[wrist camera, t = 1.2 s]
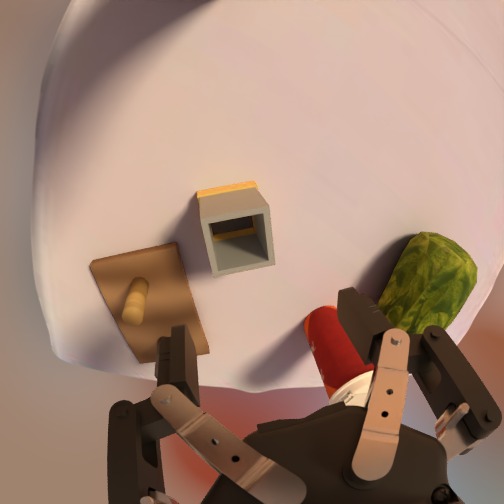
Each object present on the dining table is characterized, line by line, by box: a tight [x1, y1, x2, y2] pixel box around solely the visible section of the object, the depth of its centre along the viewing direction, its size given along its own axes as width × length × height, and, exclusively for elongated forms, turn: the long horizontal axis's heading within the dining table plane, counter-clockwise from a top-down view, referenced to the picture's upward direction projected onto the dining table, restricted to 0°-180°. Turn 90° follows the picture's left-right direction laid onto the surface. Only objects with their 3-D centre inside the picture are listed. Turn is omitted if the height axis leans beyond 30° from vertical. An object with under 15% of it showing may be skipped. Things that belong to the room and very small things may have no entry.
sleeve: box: [197, 181, 275, 277], centre depth 25 cm, size 6×6×7 cm
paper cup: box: [304, 306, 374, 407], centre depth 32 cm, size 8×8×14 cm
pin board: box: [90, 242, 210, 378], centre depth 29 cm, size 16×10×7 cm, turn 8°
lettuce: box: [377, 232, 477, 335], centre depth 33 cm, size 12×21×11 cm, turn 161°
